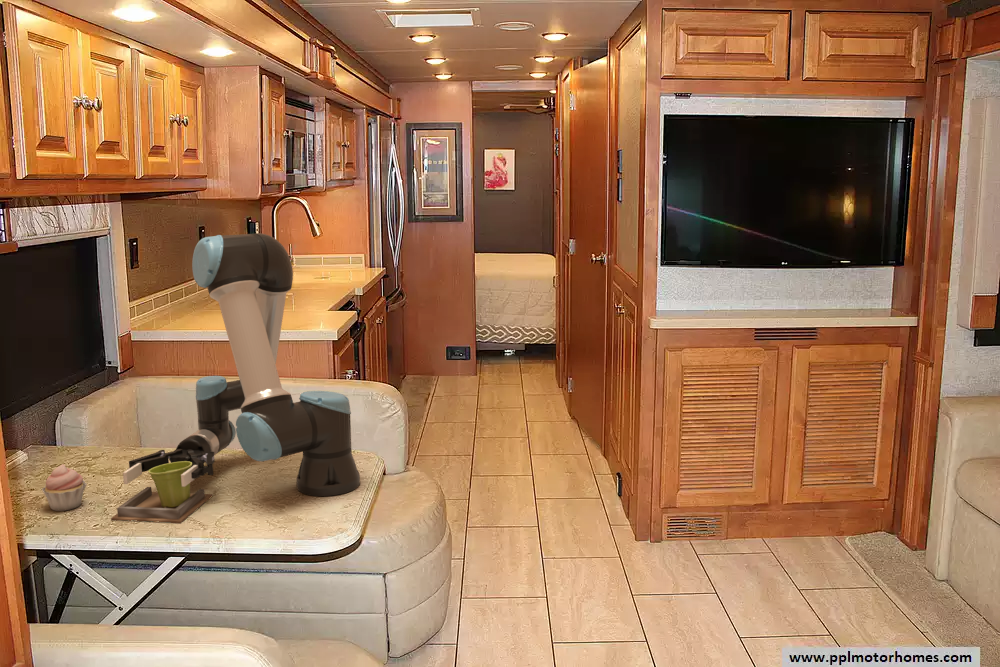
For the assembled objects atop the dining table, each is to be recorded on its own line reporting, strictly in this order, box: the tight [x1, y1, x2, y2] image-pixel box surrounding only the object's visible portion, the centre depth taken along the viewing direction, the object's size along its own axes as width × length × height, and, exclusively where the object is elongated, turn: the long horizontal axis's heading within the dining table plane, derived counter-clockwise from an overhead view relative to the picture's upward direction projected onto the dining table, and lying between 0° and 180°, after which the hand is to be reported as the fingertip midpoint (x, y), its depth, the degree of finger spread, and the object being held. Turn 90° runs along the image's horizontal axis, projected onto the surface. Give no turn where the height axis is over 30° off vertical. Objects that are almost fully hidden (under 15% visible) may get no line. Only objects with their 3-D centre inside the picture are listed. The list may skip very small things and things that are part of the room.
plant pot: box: [147, 461, 192, 507], centre depth 195 cm, size 9×9×9 cm
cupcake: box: [41, 463, 88, 512], centre depth 196 cm, size 9×9×10 cm
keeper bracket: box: [110, 486, 214, 524], centre depth 195 cm, size 16×16×2 cm
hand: (153, 479), depth 191 cm, fingers open, 13 cm apart
